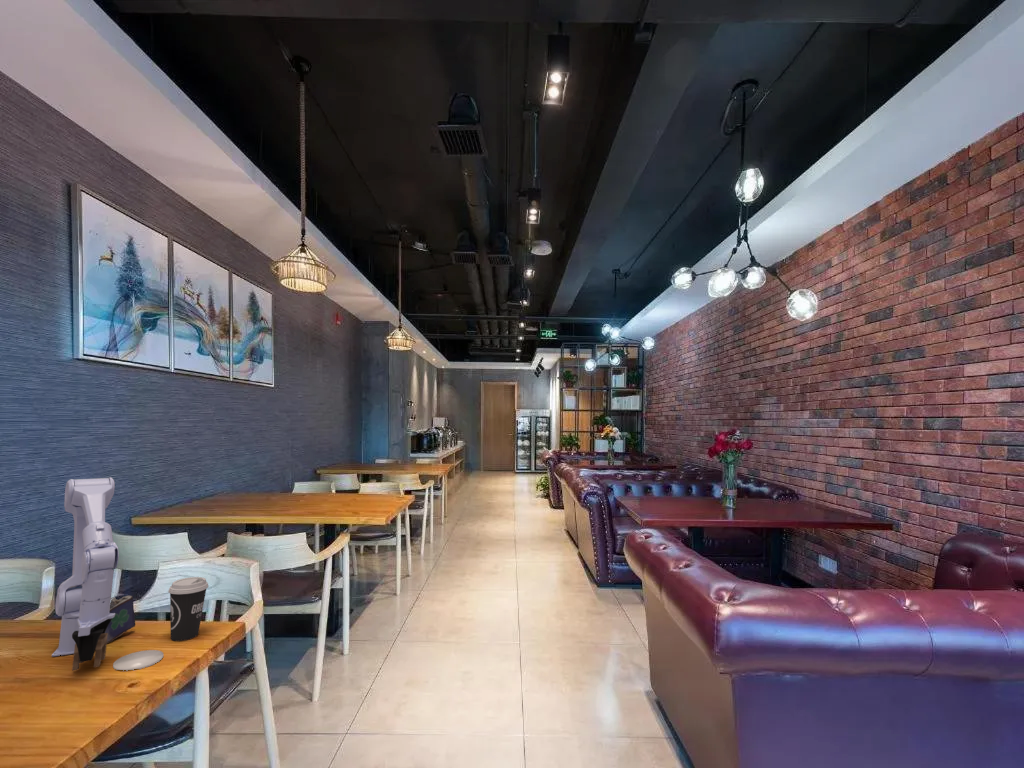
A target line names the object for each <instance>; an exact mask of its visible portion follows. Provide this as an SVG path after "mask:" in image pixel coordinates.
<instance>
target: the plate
mask: <svg viewBox="0 0 1024 768" xmlns="http://www.w3.org/2000/svg"><path fill="white" fill-rule="evenodd" d="M162 658H164V652H163V651H162V650H157V649H148V650H141V651H140V650H139V651H136V652H135V651H134V652H132V653H129V654H126V655H123V656H121V657H119V658H117V659H116V660H115V661H114V662H113V664H112V669H113V668H114V669H113V670H115V669H116V670H115V671H117V670H123V671H122V672H129V671H128V670H133V671H135V670H134V669H139V670H143V669H146V668H149V667H151V666H154V665H156V664H157V662H158V663H160V662H161V661H162V660H163V659H162ZM160 660H161V661H160ZM155 663H156V664H155ZM145 667H146V668H145ZM142 668H143V669H142ZM124 670H126V671H124Z"/></svg>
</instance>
